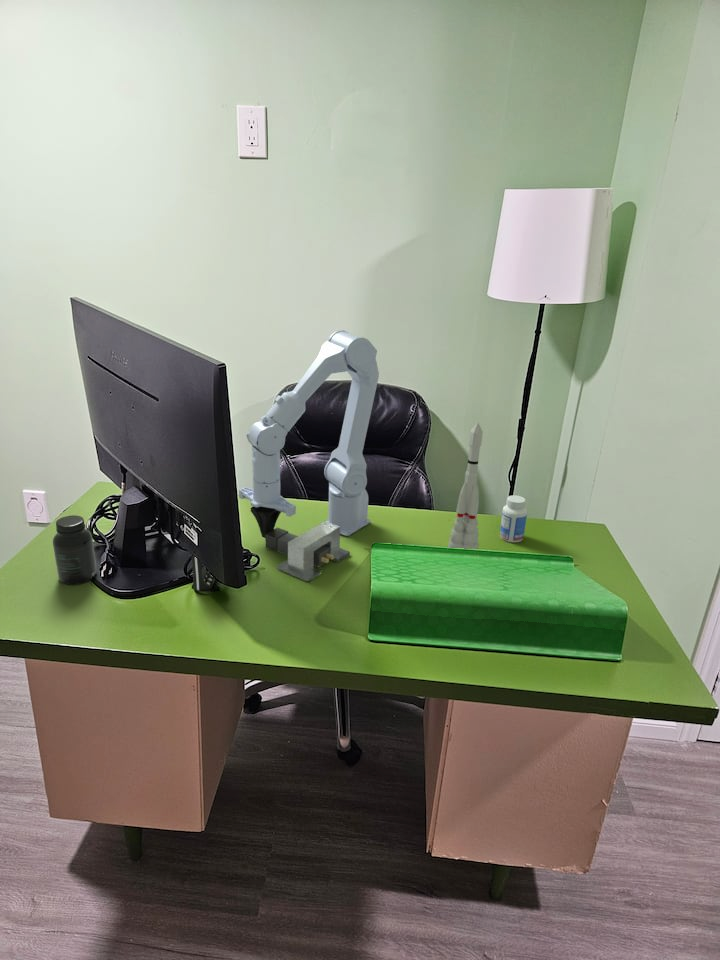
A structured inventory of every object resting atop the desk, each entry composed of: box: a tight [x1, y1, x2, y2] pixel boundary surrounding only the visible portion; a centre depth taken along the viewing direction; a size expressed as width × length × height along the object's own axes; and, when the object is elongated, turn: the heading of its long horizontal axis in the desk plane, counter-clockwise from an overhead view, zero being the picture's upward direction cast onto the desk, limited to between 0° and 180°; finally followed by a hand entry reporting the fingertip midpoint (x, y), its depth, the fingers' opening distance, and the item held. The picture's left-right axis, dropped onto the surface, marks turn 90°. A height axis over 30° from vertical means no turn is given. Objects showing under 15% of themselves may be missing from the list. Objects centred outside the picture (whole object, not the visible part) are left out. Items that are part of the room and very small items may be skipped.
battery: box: [191, 554, 216, 591], centre depth 120 cm, size 7×4×11 cm, turn 177°
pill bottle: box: [499, 494, 528, 543], centre depth 143 cm, size 6×5×10 cm
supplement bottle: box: [52, 514, 97, 586], centre depth 120 cm, size 7×7×12 cm
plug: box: [264, 527, 334, 568], centre depth 133 cm, size 4×16×3 cm, turn 58°
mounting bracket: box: [276, 520, 351, 582], centre depth 130 cm, size 14×8×6 cm, turn 145°
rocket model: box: [447, 422, 484, 550], centre depth 130 cm, size 7×7×30 cm
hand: (267, 536), depth 137 cm, fingers closed
